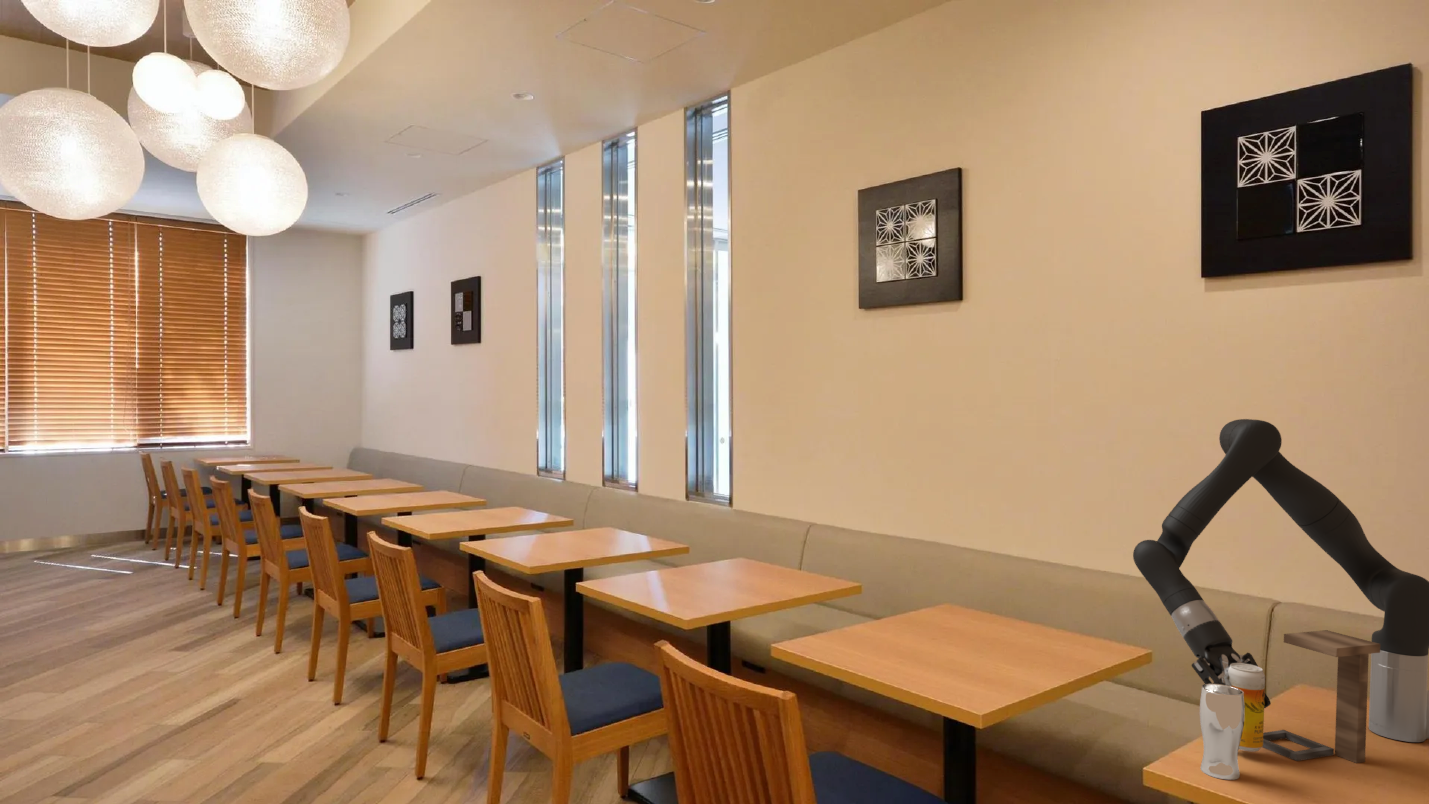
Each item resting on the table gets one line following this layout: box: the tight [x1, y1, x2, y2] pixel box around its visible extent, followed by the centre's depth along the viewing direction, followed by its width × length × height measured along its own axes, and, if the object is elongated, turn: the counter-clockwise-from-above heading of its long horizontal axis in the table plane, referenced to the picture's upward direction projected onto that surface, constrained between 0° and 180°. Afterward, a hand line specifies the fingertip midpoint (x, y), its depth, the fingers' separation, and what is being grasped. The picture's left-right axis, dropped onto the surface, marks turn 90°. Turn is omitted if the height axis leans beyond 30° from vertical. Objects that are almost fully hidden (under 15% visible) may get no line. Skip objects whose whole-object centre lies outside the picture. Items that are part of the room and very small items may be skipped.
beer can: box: [1228, 663, 1266, 752], centre depth 167 cm, size 6×6×15 cm
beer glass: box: [1199, 683, 1245, 781], centre depth 158 cm, size 7×7×15 cm
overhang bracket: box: [1262, 629, 1380, 764], centre depth 169 cm, size 13×16×23 cm
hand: (1253, 708), depth 166 cm, fingers closed on beer can, 6 cm apart
